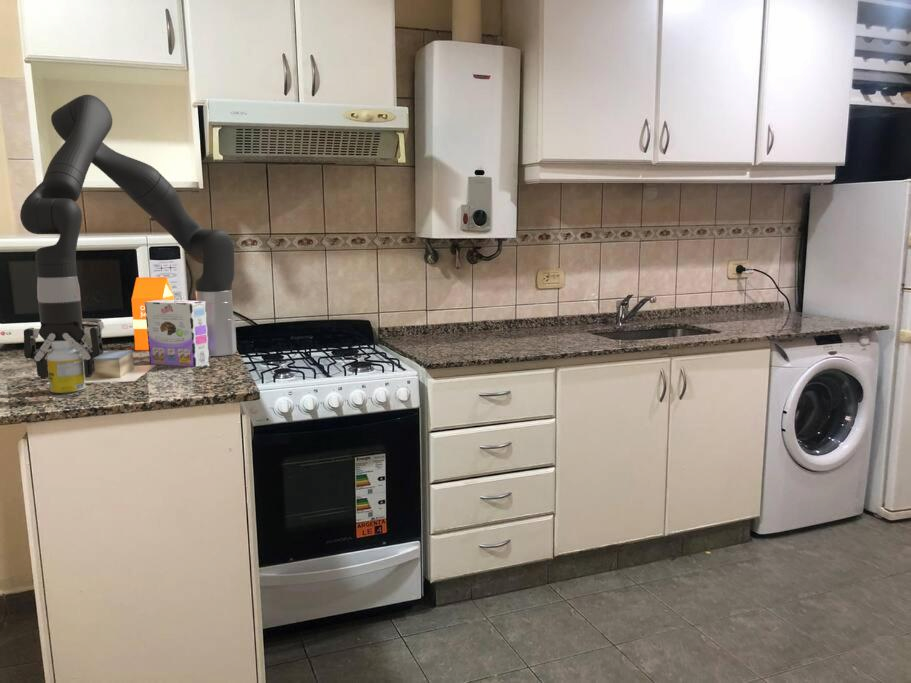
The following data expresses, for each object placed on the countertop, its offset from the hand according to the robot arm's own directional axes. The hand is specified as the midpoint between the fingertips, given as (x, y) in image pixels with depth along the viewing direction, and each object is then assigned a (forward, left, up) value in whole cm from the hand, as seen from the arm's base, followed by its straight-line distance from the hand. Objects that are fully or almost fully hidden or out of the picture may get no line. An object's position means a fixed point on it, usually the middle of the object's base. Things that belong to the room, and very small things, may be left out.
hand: (66, 377), depth 146 cm
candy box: (-16, -27, -4) cm, 32 cm away
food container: (+11, -44, -4) cm, 46 cm away
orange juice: (-3, -57, -4) cm, 57 cm away
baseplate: (-2, -16, -4) cm, 17 cm away
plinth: (-2, -16, -3) cm, 16 cm away
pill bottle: (0, 0, -4) cm, 4 cm away
